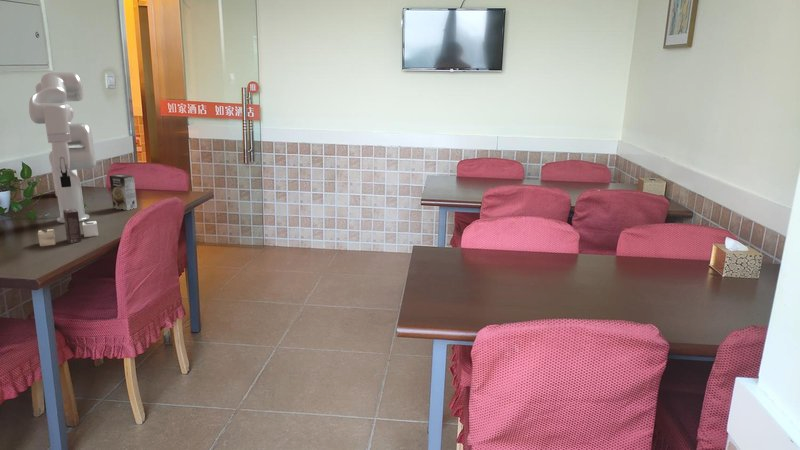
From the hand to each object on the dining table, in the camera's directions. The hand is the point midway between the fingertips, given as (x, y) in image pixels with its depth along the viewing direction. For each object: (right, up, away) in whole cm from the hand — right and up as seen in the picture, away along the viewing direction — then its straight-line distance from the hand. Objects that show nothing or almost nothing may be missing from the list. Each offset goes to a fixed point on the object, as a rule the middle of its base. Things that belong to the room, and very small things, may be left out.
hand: (66, 186), depth 219 cm
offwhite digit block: (+2, -19, +14) cm, 23 cm away
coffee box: (-5, -7, +58) cm, 58 cm away
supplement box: (-49, +1, +87) cm, 100 cm away
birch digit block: (-8, -22, +2) cm, 23 cm away
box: (0, -21, +6) cm, 22 cm away
